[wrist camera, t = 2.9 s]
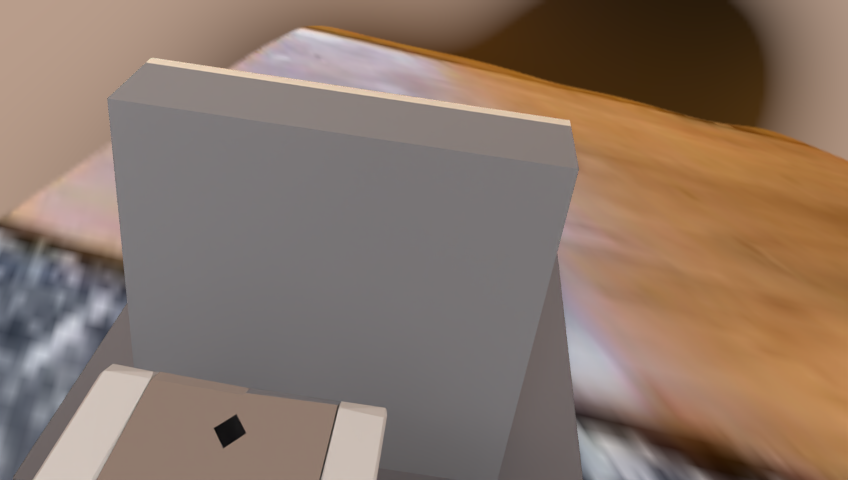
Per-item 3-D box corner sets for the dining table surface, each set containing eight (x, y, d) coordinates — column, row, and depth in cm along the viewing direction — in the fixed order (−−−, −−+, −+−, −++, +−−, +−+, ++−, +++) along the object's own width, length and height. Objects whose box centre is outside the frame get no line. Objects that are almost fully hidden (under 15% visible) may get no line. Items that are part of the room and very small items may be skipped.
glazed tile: (496, 419, 29) (569, 120, 22) (495, 485, 26) (578, 169, 20) (171, 371, 29) (151, 57, 22) (140, 432, 26) (107, 98, 20)
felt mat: (553, 256, 40) (556, 246, 39) (587, 576, 25) (592, 564, 24) (199, 203, 40) (199, 193, 39) (15, 491, 25) (12, 478, 24)
